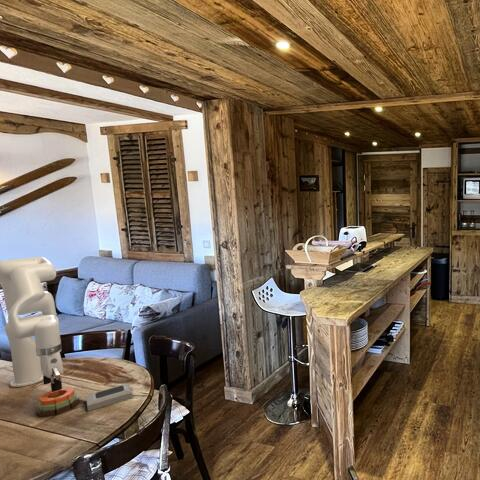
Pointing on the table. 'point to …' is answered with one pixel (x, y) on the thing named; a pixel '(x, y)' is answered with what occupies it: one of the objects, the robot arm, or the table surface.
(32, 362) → the robot arm
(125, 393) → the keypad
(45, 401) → the terracotta ring
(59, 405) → the green ring
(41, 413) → the walnut ring
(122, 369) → the table surface
